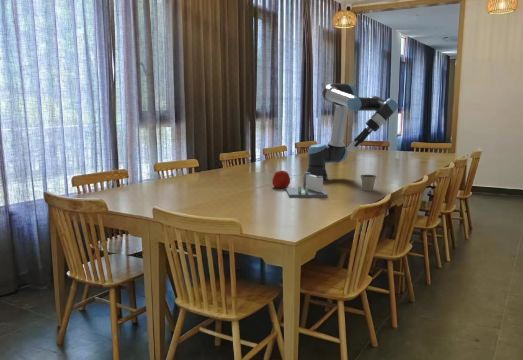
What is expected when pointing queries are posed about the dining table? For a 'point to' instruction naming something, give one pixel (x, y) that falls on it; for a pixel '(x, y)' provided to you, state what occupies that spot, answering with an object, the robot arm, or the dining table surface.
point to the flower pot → (368, 182)
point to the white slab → (313, 182)
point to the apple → (281, 179)
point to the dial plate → (304, 192)
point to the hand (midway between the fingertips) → (349, 150)
